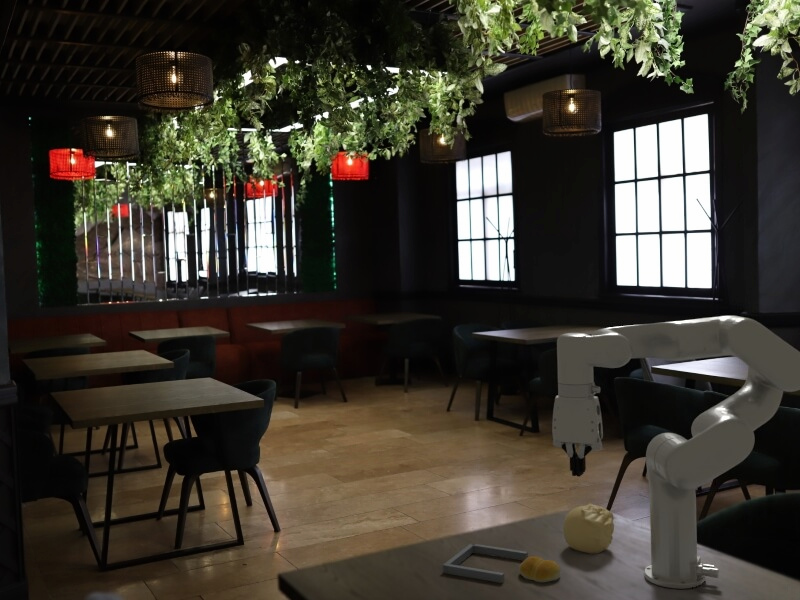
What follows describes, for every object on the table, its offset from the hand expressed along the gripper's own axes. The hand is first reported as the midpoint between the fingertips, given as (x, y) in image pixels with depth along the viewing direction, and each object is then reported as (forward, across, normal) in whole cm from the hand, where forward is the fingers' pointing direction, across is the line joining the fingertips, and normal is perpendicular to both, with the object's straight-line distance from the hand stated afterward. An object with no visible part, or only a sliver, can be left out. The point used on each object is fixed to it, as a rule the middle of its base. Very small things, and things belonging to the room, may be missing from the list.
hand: (577, 474), depth 179 cm
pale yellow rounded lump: (+24, +4, -20) cm, 32 cm away
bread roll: (+24, +9, 0) cm, 26 cm away
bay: (+24, +22, 0) cm, 33 cm away
